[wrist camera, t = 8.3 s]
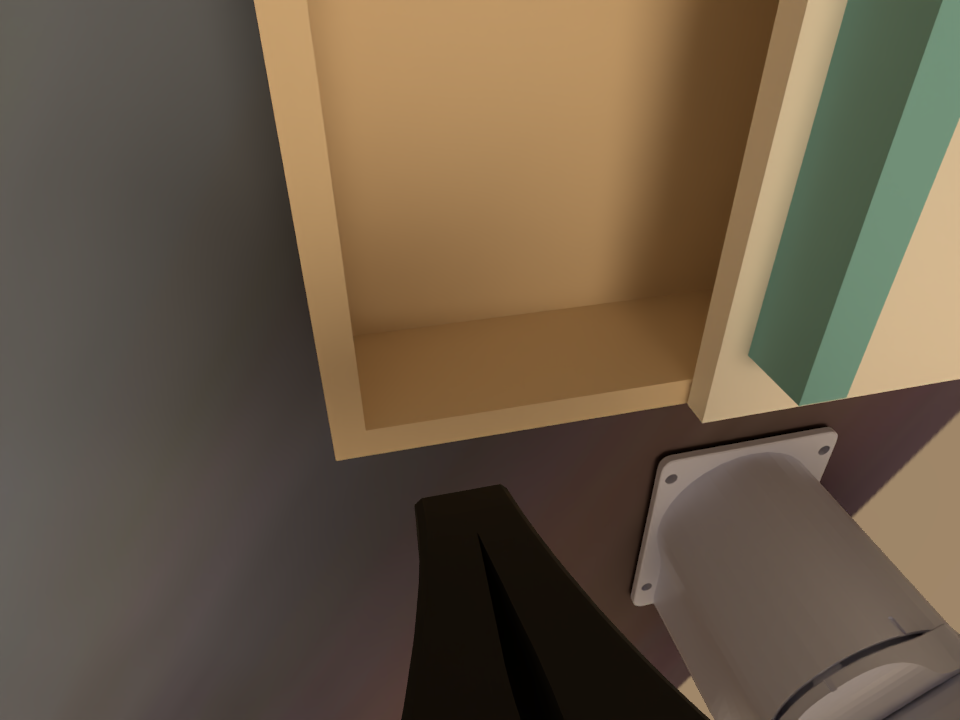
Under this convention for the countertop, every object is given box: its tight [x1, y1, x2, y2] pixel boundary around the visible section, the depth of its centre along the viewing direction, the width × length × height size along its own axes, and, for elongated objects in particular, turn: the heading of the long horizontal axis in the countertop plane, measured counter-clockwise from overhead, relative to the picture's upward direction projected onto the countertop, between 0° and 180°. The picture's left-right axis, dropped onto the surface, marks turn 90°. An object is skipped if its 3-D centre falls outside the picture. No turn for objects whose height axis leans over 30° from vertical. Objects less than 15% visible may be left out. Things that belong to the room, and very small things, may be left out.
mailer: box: [254, 0, 779, 461], centre depth 16 cm, size 14×20×5 cm
